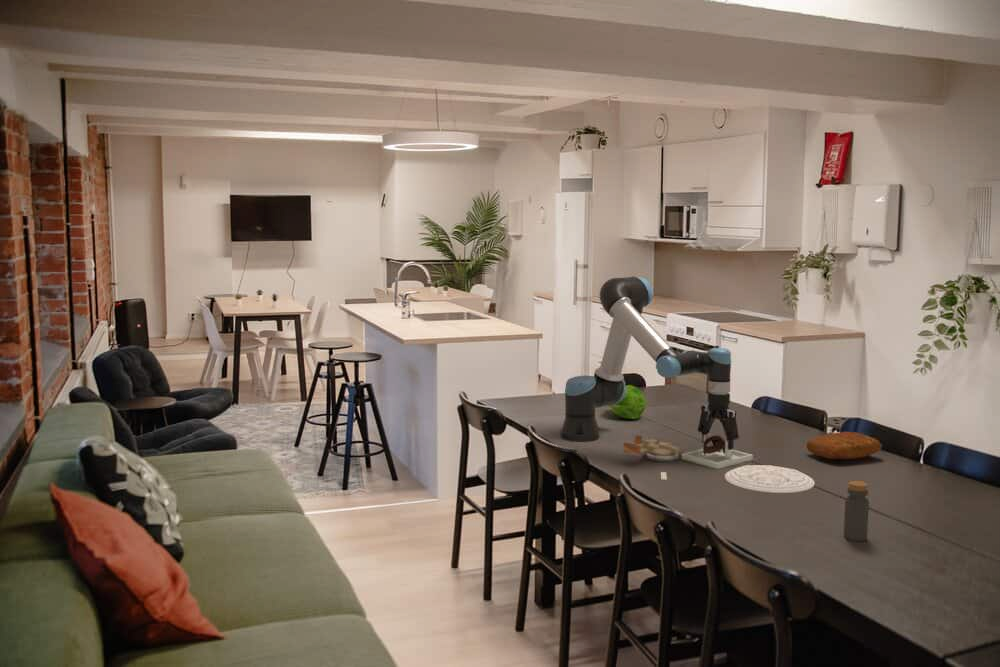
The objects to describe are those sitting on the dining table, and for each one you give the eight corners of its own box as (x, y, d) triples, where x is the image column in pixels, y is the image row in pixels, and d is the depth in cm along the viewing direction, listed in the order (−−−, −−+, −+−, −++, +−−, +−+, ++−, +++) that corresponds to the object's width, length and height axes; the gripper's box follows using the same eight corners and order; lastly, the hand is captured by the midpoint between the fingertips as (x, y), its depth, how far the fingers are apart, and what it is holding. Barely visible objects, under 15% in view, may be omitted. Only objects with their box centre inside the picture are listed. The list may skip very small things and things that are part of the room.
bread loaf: (852, 449, 328) (853, 428, 327) (885, 461, 312) (886, 439, 311) (801, 454, 321) (802, 432, 320) (833, 467, 305) (834, 444, 304)
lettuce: (596, 418, 390) (627, 420, 395) (619, 417, 369) (651, 420, 374) (597, 385, 392) (628, 387, 397) (620, 382, 371) (653, 385, 375)
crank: (661, 444, 326) (662, 425, 325) (686, 451, 317) (687, 432, 316) (618, 453, 314) (618, 434, 313) (642, 461, 304) (643, 441, 303)
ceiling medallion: (814, 473, 299) (814, 464, 299) (814, 498, 273) (815, 488, 273) (728, 466, 309) (728, 457, 308) (721, 489, 282) (721, 479, 282)
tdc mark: (660, 472, 299) (660, 472, 299) (666, 473, 299) (666, 472, 299) (661, 479, 291) (661, 479, 291) (666, 480, 291) (666, 479, 291)
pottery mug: (736, 460, 310) (726, 442, 307) (710, 471, 312) (700, 452, 310) (731, 443, 321) (722, 425, 318) (706, 453, 323) (697, 435, 321)
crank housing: (640, 456, 320) (640, 450, 319) (661, 451, 326) (661, 445, 326) (662, 463, 311) (662, 456, 310) (684, 458, 317) (684, 451, 317)
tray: (681, 459, 316) (681, 453, 315) (717, 451, 327) (717, 445, 326) (716, 469, 303) (717, 463, 302) (752, 460, 314) (752, 455, 313)
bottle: (839, 534, 241) (842, 480, 239) (860, 533, 242) (863, 479, 240) (849, 541, 235) (852, 486, 233) (871, 541, 236) (874, 486, 234)
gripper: (688, 389, 318) (686, 450, 321) (736, 398, 301) (734, 463, 303) (702, 386, 322) (700, 447, 325) (751, 396, 305) (749, 460, 308)
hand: (717, 455), depth 314 cm, fingers closed on pottery mug, 9 cm apart
